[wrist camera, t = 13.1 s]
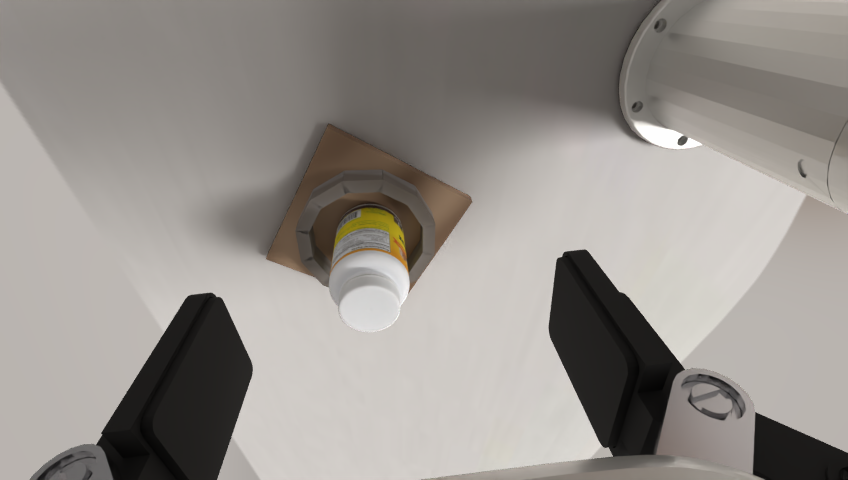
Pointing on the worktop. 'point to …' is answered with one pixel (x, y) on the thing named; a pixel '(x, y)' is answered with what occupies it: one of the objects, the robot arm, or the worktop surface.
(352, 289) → the supplement bottle
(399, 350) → the worktop surface
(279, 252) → the rosette collar
